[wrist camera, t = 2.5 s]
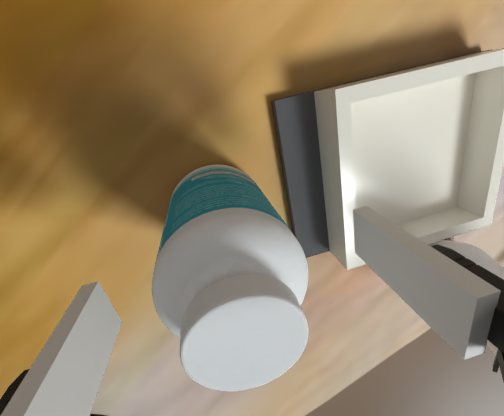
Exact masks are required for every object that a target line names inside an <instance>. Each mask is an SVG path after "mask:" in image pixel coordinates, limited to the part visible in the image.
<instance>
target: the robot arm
mask: <svg viewBox="0 0 504 416" xmlns="http://www.w3.org/2000/svg"><path fill="white" fill-rule="evenodd" d="M353 220H354V242H355V253H356V254H357V255H358V256H359V257H360V258H361V259H362V260H363V261H364V262H365V263H366V264H367V265H368V266H369V267H370V268H371V269H372V270H373V271H374V272H375V273H376V274H377V275H378V276H379V277H380V278H381V279H382V280H383V281H384V282H385V283H386V284H387V285H389V286H390V287H391V288H392V289H393V290H394V291H395V292H396V293H397V294H398V295H399V296H400V297H401V298H402V299H403V300H404V301H405V302H406V303H407V304H408V305H409V306H410V307H411V308H412V309H413V310H414V311H415V312H416V313H417V314H418V315H419V316H420V317H421V318H422V319H423V320H424V321H425V322H426V323H427V324H428V325H429V326H430V327H431V328H432V329H433V330H434V331H436V333H437V334H438V335H439V336H440V337H442V339H444V340H445V341H446V342H447V343H448V344H449V345H450V346H451V347H452V348H453V349H454V350H455V351H456V352H457V353H458V354H459V355H460V356H461V357H462V358H463V359H464V360H465V359H467V358H470V357H473V356H476V355H479V354H482V353H484V352H485V348H486V345H487V341H489V342H491V343H492V344H493V345H494V346H495V347H497V348H498V350H497V353H496V357H495V360H494V364H493V371H494V372H497V371H498V368H499V366H500V370H501V373H502V377H503V381H504V280H503V279H502V278H500V277H498V276H497V275H495V274H493V273H491V272H490V271H488V270H486V269H485V268H483V267H481V266H480V265H476V263H475V262H473V261H471V260H470V259H468V258H467V259H466V258H465V257H464V256H463V255H461V254H459V253H458V252H456V251H454V250H453V249H450V248H447V247H444V246H441V245H438V244H436V245H433V246H429V245H428V244H426V243H425V242H423V241H421V240H420V239H418V238H417V237H415V236H413V235H412V234H410V233H409V232H407V231H406V230H404V229H402V228H401V227H399V226H398V225H396V224H395V223H393V222H391V221H390V220H388V219H387V218H385V217H384V216H382V215H380V214H379V213H377V212H376V211H374V210H373V209H371V208H369V207H368V206H364V207H360V208H357V209H353ZM121 324H122V321H121V319H120V318H119V316H118V314H117V312H116V311H115V309H114V307H113V306H112V304H111V302H110V301H109V299H108V297H107V295H106V294H105V292H104V290H103V289H102V287H101V285H100V283H99V282H94V283H91V284H87V285H84V286H82V287H81V288H80V290H79V291H78V293H77V295H76V296H75V298H74V299H73V301H72V303H71V304H70V306H69V307H68V309H67V311H66V312H65V314H64V315H63V317H62V318H61V320H60V322H59V323H58V325H57V326H56V328H55V330H54V331H53V333H52V334H51V336H50V338H49V339H48V341H47V342H46V344H45V346H44V347H43V349H42V350H41V352H40V354H39V355H38V357H37V358H36V360H35V362H34V363H33V365H32V366H31V368H30V369H28V370H25V371H23V372H22V373H21V374H20V376H19V377H18V378H17V379H16V380H15V381H14V382H13V383H12V384H11V385H10V386H9V387H8V389H7V390H6V392H5V393H4V395H3V396H2V398H1V399H0V416H90V413H91V410H92V407H93V405H94V402H95V399H96V396H97V393H98V390H99V387H100V384H101V381H102V379H103V376H104V373H105V370H106V367H107V364H108V361H109V358H110V355H111V352H112V350H113V347H114V344H115V341H116V338H117V335H118V332H119V329H120V326H121Z"/></svg>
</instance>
